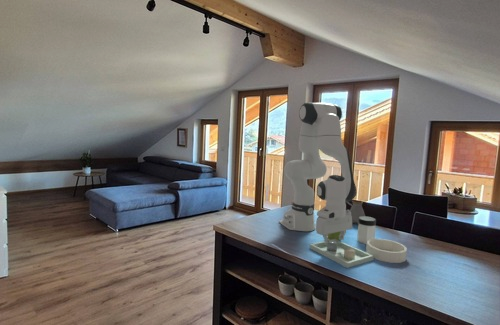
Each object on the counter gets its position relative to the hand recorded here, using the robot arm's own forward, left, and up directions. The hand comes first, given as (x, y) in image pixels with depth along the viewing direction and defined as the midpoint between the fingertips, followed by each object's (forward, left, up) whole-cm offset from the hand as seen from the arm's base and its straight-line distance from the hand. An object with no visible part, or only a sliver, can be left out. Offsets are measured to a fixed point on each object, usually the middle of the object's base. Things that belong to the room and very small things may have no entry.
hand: (334, 241), depth 133 cm
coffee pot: (-32, +47, -5) cm, 57 cm away
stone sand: (+9, 0, -4) cm, 10 cm away
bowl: (+14, +18, -5) cm, 23 cm away
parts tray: (+4, 0, -5) cm, 6 cm away
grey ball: (-1, 0, -4) cm, 5 cm away
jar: (-2, +25, -5) cm, 25 cm away
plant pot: (-11, +12, -5) cm, 17 cm away
